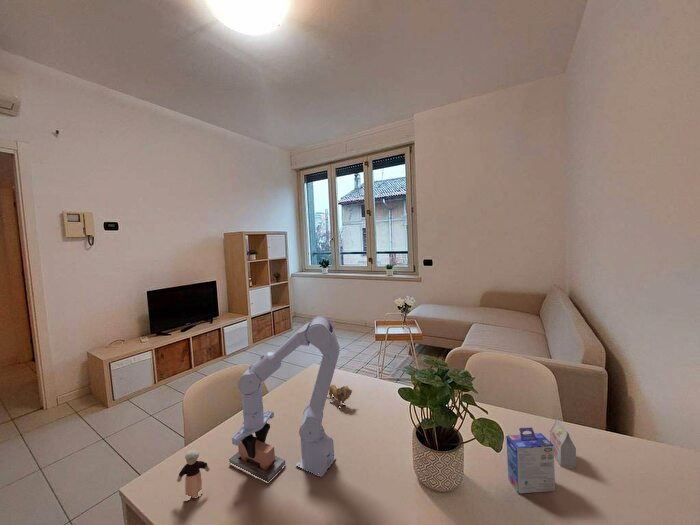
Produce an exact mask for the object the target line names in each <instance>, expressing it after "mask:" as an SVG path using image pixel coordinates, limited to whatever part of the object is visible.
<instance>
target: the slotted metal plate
mask: <svg viewBox="0 0 700 525" xmlns="http://www.w3.org/2000/svg"><path fill="white" fill-rule="evenodd" d="M228 462H230V463H232V464H234V465H236V466H238V467H240V468H242V469H244V470H246V471H248V472H250V473H251V474H253V475H255V476H257V477H259V478H261V479H263V480H265V481H267V482H269V481H270V480H271V479H272V478H273V477H274V476H275V475H276V474H277V473H278V472H279V471H280V470H281V469H282V467H283V466H284V465H285V466H286V459H283V458H281V457H278V456H276V455H275V460H274V461H273V464H272V465H271V466H270V467H269V468H268V469H267V470H266V471H264V470H261V469H260V463H258V462H256V461H254V460H252V459H249V460H248V461H247V462H244V461H242V460H241V455H240V454H239V451H237V452H236V453H235V454H233V455H232V456H231V457H230V458H229V459H228ZM230 463H229V464H230ZM282 470H283V469H282ZM282 470H281V471H282Z"/></svg>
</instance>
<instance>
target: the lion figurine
mask: <svg viewBox="0 0 700 525" xmlns="http://www.w3.org/2000/svg"><path fill="white" fill-rule="evenodd" d="M352 393H353V390H352V389H350V388H349V386H348V385H344V386H342V387H339V388H338V387H337V386H336V385H335V384H330V388H329V391H328V394H329V400H330V399H331V400H332V394H333V396H334V398H335V399H336V400H337V406H338V405H339V406H340V405H341V406H342V403H344V404H345V402H346V401H347V400H349V398H350V397H351V395H352Z"/></svg>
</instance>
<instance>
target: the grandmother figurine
mask: <svg viewBox="0 0 700 525" xmlns="http://www.w3.org/2000/svg"><path fill="white" fill-rule="evenodd" d="M199 457H200V452H199V450H197V449H194V448H193V449H190V450H188V451H187V452H186V454H185V456H184V458H185V459H184V460H186V464H185V465H184V466H183V467H182V469H181V470H180V472H179V474H178V477H177V479H176V481H177V483H180V482H181V481H182V478H183V477H184V476H185V477H184V478H185V480H184V481H185V484H184V486H185V487H184V488H185V490H184V492H185V493H184V494H185V496H186V495H188V496H191V497H192V499H196V498H195V497H197V496H198V492H199V491H200V490H202V489H203V487H202V485H203V484H202V483H203V481H202V480H203V479H202V472H201V470H202V469H203V470H205V472H206V473H207V472H209V471H210V470H211V468H210V466H209V465H208V462H205V461H202V460H198V459H199ZM200 469H201V470H200Z"/></svg>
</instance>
